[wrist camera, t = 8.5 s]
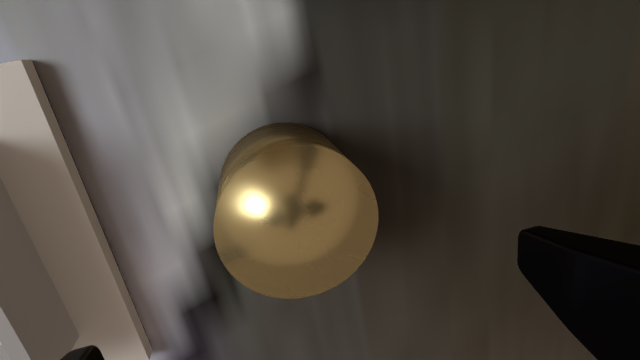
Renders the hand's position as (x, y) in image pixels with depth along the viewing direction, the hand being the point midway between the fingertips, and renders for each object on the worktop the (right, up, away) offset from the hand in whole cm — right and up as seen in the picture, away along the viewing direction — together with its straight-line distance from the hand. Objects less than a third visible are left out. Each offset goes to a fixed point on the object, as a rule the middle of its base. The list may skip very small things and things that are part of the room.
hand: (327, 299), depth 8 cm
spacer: (-2, +2, +7) cm, 8 cm away
